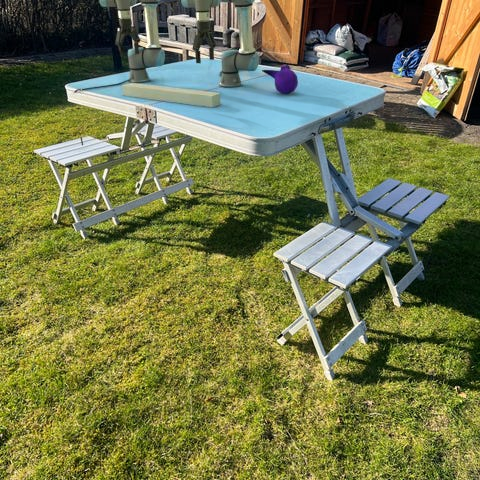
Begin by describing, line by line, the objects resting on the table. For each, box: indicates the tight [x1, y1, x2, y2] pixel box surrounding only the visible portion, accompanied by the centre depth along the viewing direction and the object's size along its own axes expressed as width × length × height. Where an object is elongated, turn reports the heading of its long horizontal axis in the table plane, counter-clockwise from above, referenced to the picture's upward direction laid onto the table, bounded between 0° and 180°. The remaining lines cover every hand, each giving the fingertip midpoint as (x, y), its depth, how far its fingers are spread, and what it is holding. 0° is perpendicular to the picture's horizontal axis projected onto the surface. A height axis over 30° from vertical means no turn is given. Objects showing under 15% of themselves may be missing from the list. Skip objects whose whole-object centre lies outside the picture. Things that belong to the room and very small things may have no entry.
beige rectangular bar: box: [121, 82, 222, 108], centre depth 284 cm, size 71×9×7 cm, turn 59°
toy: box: [261, 64, 299, 95], centre depth 294 cm, size 16×18×27 cm
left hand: (130, 55), depth 286 cm, fingers open, 13 cm apart
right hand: (205, 61), depth 260 cm, fingers open, 13 cm apart
